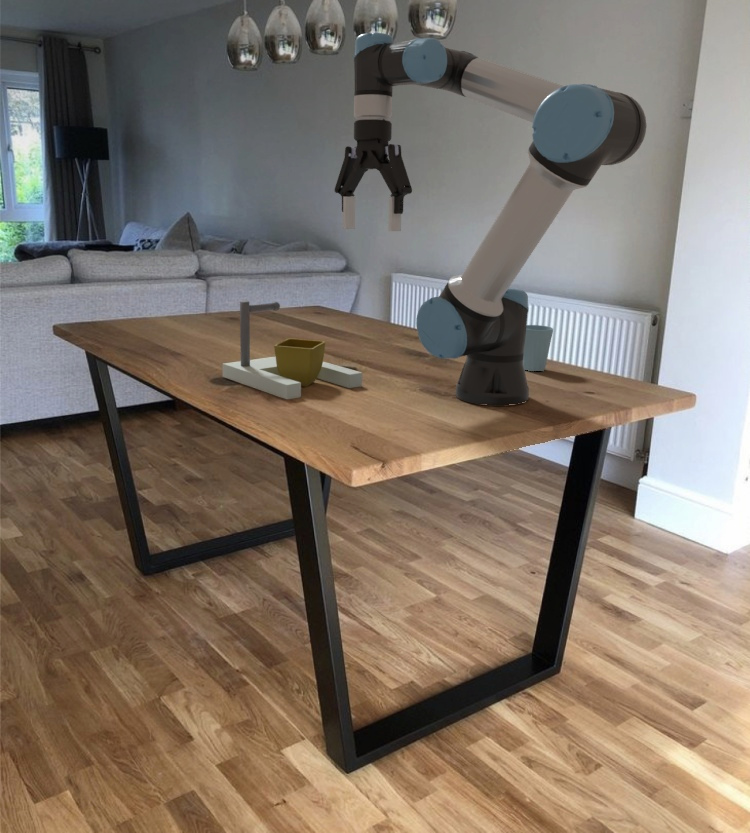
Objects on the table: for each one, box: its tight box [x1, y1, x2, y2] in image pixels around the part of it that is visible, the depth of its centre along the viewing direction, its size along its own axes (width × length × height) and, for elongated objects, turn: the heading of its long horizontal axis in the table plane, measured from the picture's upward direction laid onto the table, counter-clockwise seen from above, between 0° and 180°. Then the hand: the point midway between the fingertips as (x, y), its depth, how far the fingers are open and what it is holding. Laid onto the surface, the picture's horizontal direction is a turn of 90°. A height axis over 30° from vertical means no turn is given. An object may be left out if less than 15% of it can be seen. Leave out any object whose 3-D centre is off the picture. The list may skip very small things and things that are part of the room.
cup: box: [523, 324, 554, 372], centre depth 195 cm, size 8×8×10 cm
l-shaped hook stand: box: [222, 300, 363, 400], centre depth 173 cm, size 24×20×17 cm
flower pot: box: [273, 338, 326, 388], centre depth 173 cm, size 9×9×9 cm
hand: (371, 230), depth 165 cm, fingers open, 13 cm apart
